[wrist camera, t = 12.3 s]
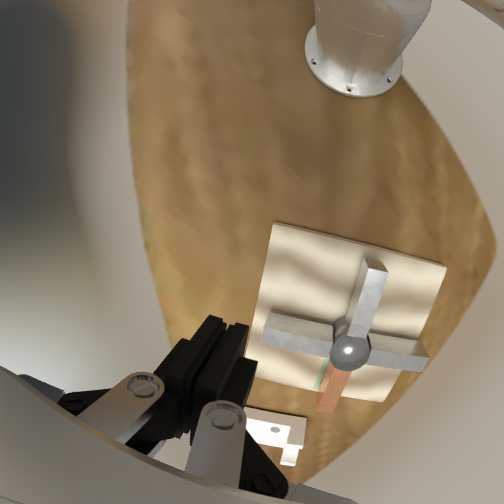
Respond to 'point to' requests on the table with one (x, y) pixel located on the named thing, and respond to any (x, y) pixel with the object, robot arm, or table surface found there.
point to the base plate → (336, 303)
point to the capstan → (347, 338)
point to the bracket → (277, 432)
